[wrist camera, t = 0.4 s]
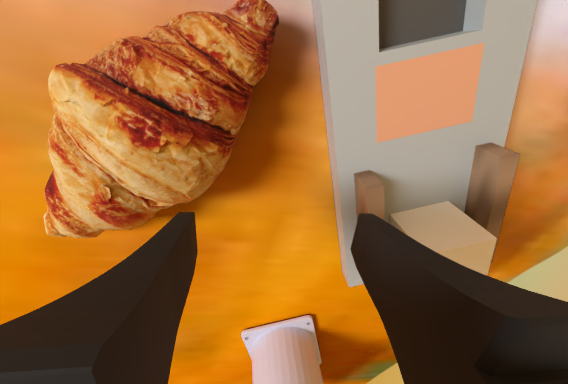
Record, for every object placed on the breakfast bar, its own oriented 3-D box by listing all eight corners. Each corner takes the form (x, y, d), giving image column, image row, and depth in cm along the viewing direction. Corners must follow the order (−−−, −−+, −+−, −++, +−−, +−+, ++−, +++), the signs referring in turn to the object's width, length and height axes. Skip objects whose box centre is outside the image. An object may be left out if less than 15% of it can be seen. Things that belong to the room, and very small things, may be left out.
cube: (442, 246, 25) (483, 289, 21) (389, 258, 25) (420, 304, 21) (448, 200, 23) (496, 238, 18) (389, 214, 22) (424, 255, 18)
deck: (465, 243, 28) (479, 256, 26) (342, 272, 28) (349, 287, 26) (539, -161, 14) (580, -189, 13) (299, -111, 14) (307, -134, 12)
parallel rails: (470, 243, 25) (491, 262, 23) (360, 269, 25) (371, 290, 23) (491, 142, 20) (520, 154, 18) (353, 173, 20) (366, 188, 18)
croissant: (122, 215, 26) (130, 294, 21) (-33, 178, 18) (-73, 291, 13) (289, 43, 20) (347, 100, 16) (172, -121, 12) (222, -101, 8)
